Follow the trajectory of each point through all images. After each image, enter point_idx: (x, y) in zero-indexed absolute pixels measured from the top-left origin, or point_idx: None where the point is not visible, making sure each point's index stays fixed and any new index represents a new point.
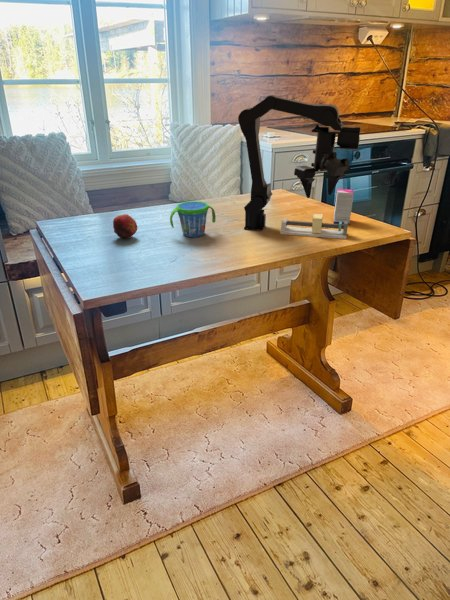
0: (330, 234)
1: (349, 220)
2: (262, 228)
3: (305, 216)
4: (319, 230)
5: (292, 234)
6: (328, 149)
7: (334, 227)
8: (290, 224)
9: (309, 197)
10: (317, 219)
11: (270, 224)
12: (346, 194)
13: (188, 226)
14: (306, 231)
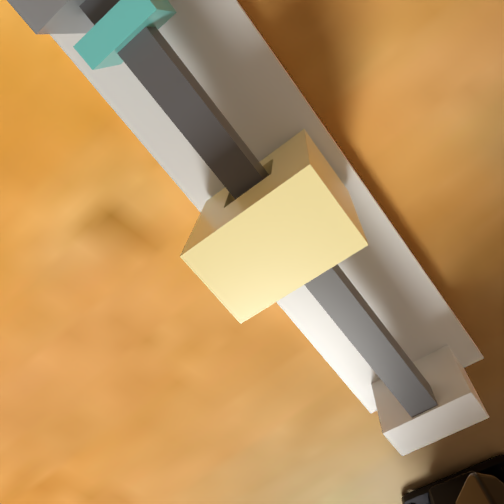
0: (240, 62)
1: None
2: (489, 465)
3: (64, 451)
4: (312, 145)
5: (435, 287)
6: None
7: (182, 64)
8: (416, 367)
9: (484, 479)
10: (337, 201)
11: (359, 484)
12: None
13: None
14: None
